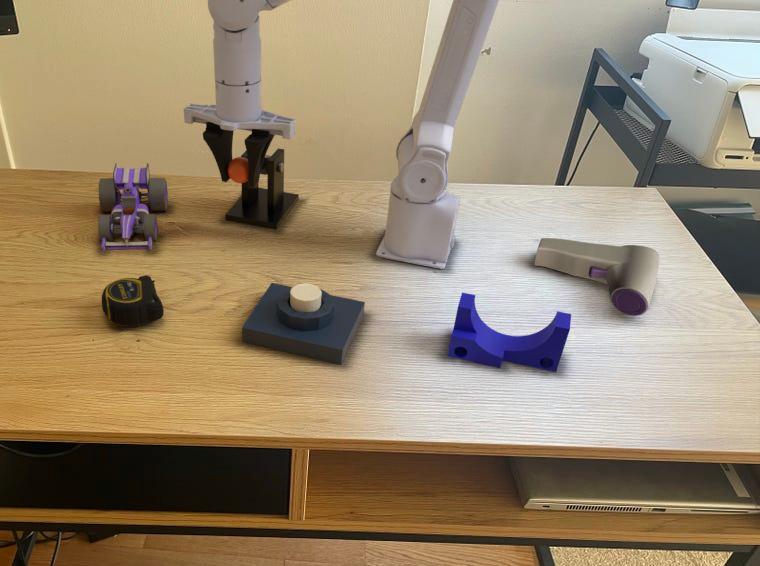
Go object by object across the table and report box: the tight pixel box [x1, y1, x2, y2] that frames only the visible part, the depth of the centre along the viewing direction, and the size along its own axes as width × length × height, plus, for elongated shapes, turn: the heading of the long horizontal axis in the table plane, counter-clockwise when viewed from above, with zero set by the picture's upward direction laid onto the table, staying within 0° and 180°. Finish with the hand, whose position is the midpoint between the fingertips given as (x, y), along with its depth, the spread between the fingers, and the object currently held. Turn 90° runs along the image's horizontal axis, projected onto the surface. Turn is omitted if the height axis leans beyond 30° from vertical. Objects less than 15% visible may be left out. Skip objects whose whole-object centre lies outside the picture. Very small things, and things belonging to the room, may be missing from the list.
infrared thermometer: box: [534, 237, 661, 317], centre depth 96 cm, size 5×12×15 cm
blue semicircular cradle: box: [447, 292, 572, 373], centre depth 83 cm, size 12×4×6 cm, turn 71°
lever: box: [227, 154, 272, 184], centre depth 102 cm, size 12×3×3 cm, turn 161°
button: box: [290, 282, 322, 312], centre depth 85 cm, size 4×4×2 cm
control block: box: [241, 282, 366, 366], centre depth 87 cm, size 12×10×4 cm
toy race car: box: [97, 162, 169, 252], centre depth 105 cm, size 10×15×6 cm, turn 4°
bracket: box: [224, 148, 300, 230], centre depth 108 cm, size 10×8×9 cm
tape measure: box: [101, 275, 165, 328], centre depth 89 cm, size 7×7×4 cm
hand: (240, 181), depth 99 cm, fingers closed on lever, 3 cm apart
